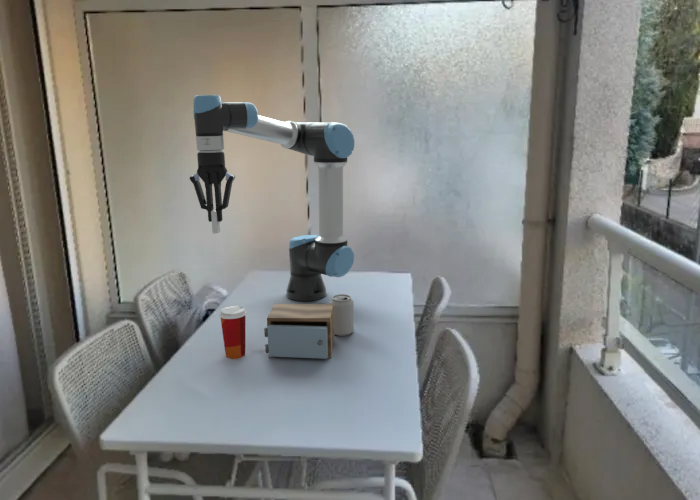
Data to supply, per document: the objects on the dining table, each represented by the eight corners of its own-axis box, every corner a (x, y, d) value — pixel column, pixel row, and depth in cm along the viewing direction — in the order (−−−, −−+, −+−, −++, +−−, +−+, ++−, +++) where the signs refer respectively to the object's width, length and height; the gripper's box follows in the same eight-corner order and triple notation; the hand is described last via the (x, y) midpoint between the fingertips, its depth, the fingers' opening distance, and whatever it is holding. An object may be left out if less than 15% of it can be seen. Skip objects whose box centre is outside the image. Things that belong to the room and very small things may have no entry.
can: (351, 337, 177) (350, 301, 174) (327, 336, 178) (327, 299, 176) (355, 328, 184) (355, 293, 181) (333, 327, 186) (332, 292, 183)
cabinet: (276, 340, 175) (274, 303, 173) (334, 340, 175) (333, 303, 172) (268, 356, 164) (266, 317, 161) (331, 357, 163) (330, 318, 160)
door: (266, 353, 164) (265, 324, 161) (327, 356, 162) (327, 326, 159) (264, 357, 161) (262, 327, 159) (326, 360, 159) (325, 330, 157)
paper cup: (239, 347, 171) (236, 303, 167) (254, 355, 165) (251, 309, 162) (216, 355, 165) (213, 310, 162) (231, 363, 160) (228, 316, 157)
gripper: (183, 152, 158) (190, 235, 164) (229, 152, 157) (235, 235, 163) (192, 150, 165) (198, 229, 171) (236, 150, 165) (241, 229, 170)
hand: (216, 232), depth 167 cm, fingers closed
